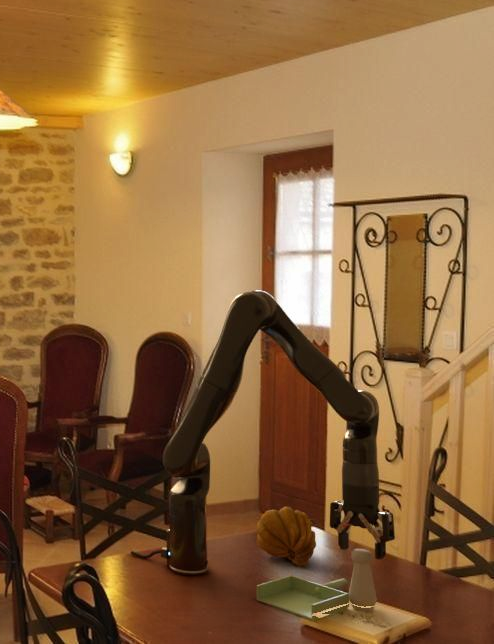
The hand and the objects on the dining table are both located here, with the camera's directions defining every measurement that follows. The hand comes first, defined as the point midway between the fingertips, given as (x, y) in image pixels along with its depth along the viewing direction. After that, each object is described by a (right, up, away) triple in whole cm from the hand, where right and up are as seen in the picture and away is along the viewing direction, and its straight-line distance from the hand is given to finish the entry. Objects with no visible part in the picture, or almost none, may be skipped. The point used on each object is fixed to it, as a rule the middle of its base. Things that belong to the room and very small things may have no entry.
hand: (361, 553), depth 199 cm
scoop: (-8, -12, +6) cm, 16 cm away
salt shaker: (0, -12, 0) cm, 12 cm away
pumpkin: (-2, -12, +36) cm, 38 cm away
